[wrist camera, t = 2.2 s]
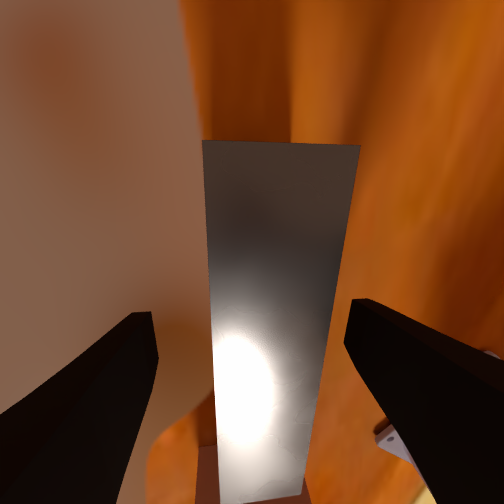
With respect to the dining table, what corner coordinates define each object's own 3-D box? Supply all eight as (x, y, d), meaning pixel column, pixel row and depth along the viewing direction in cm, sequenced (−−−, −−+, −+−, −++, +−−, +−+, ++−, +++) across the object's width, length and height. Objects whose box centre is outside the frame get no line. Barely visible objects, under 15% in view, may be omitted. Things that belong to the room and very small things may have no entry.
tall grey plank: (212, 151, 9) (201, 139, 4) (289, 153, 9) (360, 145, 4) (220, 384, 13) (220, 506, 8) (273, 379, 13) (301, 494, 9)
